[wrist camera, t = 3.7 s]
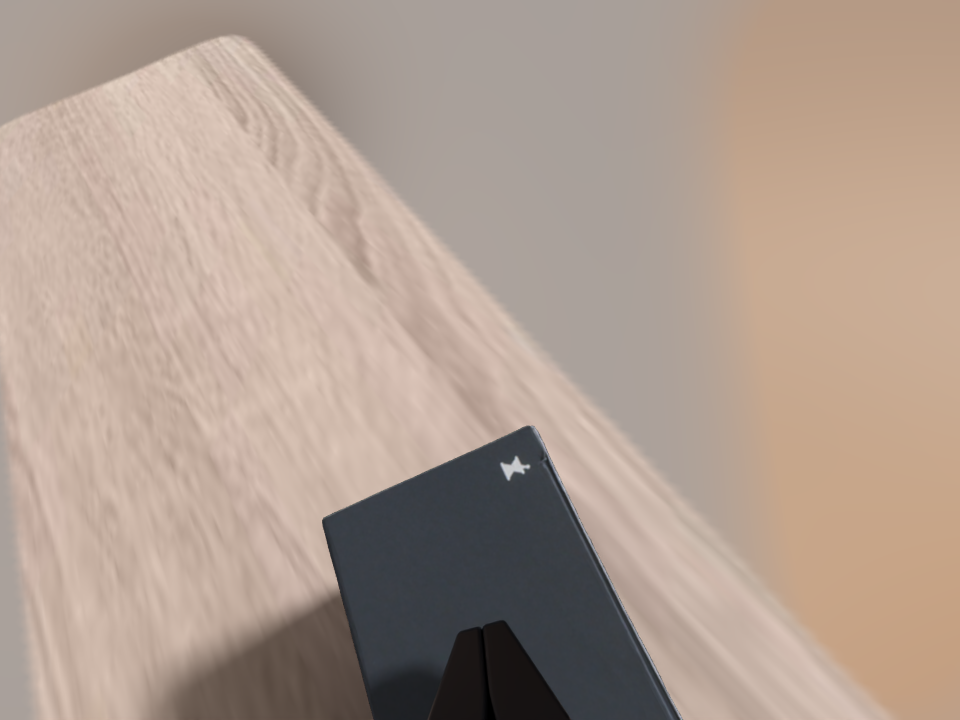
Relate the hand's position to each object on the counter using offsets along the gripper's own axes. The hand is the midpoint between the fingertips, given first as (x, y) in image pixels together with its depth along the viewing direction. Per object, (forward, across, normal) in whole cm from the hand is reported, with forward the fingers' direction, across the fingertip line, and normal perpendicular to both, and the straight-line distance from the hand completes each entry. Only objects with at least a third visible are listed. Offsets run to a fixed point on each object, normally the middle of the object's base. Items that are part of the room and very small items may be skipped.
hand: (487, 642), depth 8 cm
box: (+8, 0, +9) cm, 12 cm away
